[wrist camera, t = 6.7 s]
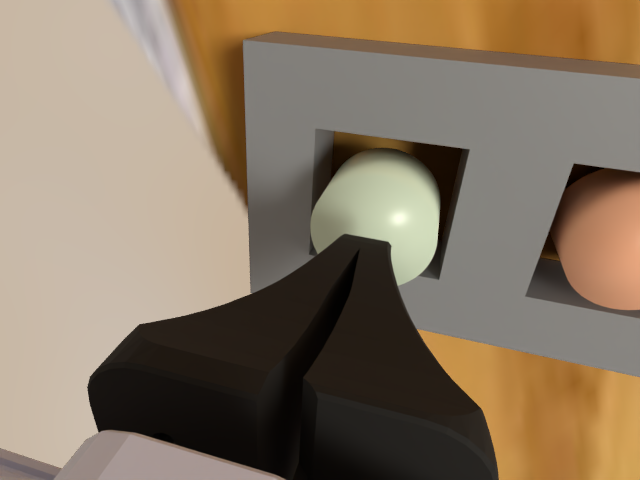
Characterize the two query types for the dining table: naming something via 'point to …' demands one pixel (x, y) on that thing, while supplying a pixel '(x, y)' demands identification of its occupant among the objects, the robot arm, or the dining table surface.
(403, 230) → the button sage
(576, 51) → the dining table surface
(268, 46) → the button panel
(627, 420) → the dining table surface
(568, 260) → the button terracotta
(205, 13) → the dining table surface
